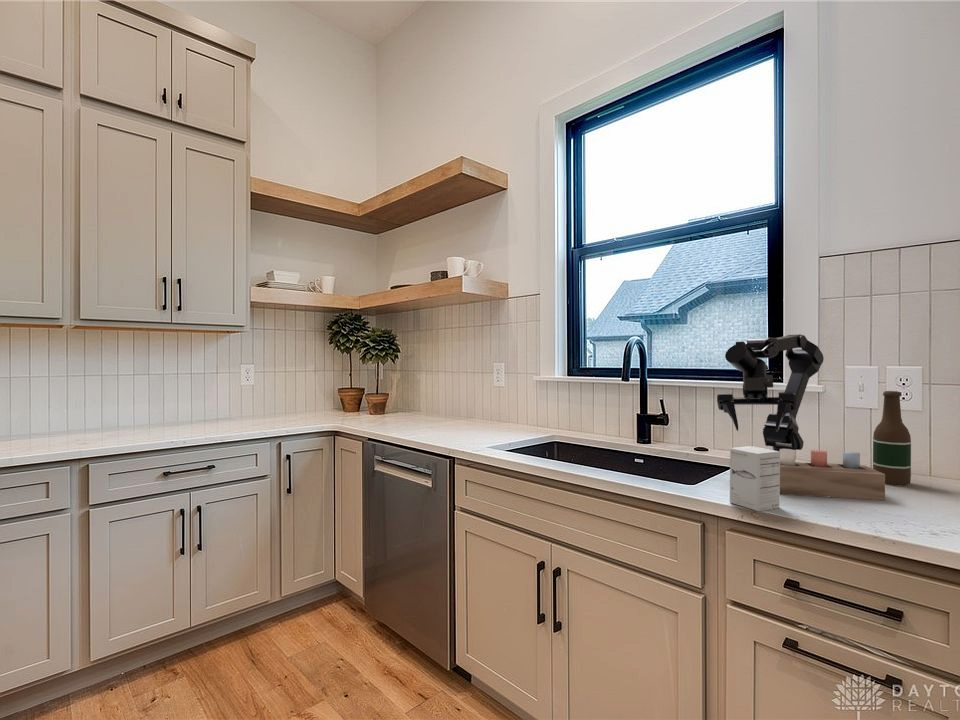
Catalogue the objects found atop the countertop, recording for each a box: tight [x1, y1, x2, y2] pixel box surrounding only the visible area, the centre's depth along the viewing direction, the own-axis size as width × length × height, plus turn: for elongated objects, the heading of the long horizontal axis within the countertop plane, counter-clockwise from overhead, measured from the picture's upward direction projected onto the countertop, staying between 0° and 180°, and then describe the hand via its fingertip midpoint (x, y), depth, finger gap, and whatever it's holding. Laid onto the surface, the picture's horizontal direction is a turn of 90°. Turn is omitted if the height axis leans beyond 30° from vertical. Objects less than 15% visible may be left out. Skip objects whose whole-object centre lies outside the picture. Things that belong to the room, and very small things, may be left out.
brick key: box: [810, 449, 828, 467], centre depth 128 cm, size 3×3×4 cm
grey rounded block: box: [842, 451, 861, 469], centre depth 126 cm, size 3×3×4 cm
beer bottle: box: [872, 390, 912, 487], centre depth 135 cm, size 8×8×24 cm
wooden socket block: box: [780, 461, 886, 501], centre depth 126 cm, size 10×22×6 cm, turn 75°
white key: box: [780, 449, 796, 466], centre depth 130 cm, size 3×3×4 cm
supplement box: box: [729, 445, 781, 512], centre depth 115 cm, size 7×7×13 cm
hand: (756, 430), depth 136 cm, fingers open, 9 cm apart
